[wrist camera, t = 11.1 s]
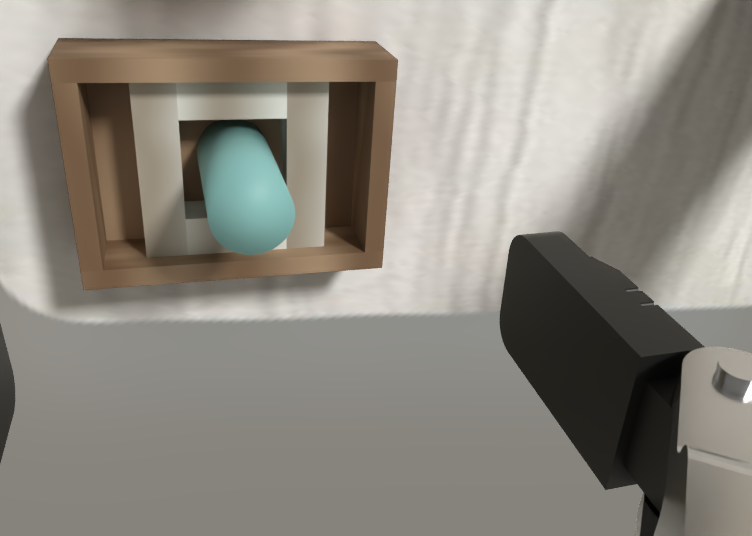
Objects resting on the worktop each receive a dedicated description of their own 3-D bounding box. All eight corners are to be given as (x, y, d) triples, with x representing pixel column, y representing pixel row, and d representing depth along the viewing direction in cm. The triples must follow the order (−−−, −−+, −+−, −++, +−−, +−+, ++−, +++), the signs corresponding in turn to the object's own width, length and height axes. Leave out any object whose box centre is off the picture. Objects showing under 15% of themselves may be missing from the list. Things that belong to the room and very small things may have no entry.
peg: (268, 117, 36) (296, 174, 29) (268, 184, 38) (294, 252, 31) (195, 117, 35) (206, 176, 28) (197, 185, 37) (209, 257, 30)
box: (375, 41, 36) (398, 59, 33) (363, 234, 42) (382, 267, 38) (58, 38, 32) (47, 58, 29) (89, 251, 38) (83, 289, 34)
